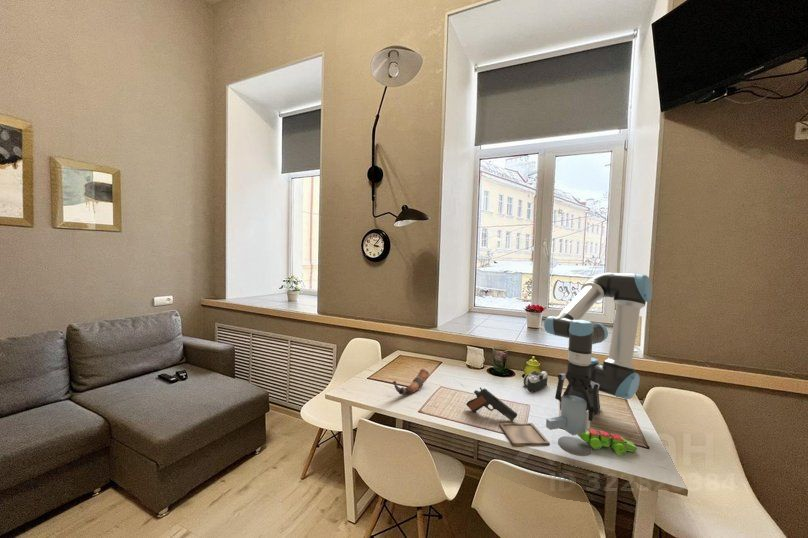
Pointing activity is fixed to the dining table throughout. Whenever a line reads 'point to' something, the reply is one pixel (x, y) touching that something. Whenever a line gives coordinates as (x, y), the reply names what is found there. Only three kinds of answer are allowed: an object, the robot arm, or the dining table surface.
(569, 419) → the grey l-shaped block
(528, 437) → the brown square tray
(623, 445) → the toy crocodile
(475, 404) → the handgun
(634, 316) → the robot arm
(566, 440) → the disc
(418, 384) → the drinking horn
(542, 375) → the camera
